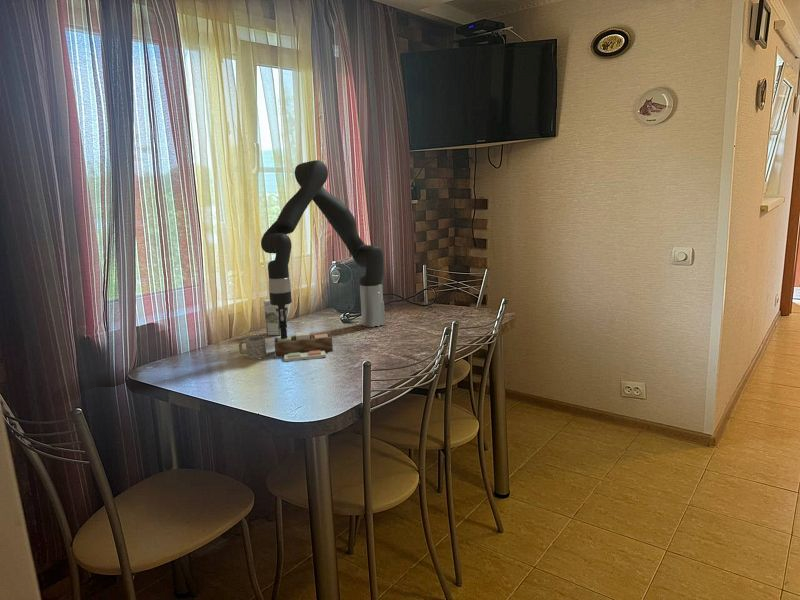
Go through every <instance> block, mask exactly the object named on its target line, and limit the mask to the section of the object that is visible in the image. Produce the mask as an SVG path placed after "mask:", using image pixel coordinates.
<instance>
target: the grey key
mask: <svg viewBox="0 0 800 600" xmlns="http://www.w3.org/2000/svg"><path fill="white" fill-rule="evenodd" d="M310 334H311V333H310V331H308V330H307V331H298V332H295V336H296V340H305V339H310Z"/></svg>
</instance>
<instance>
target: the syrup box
mask: <svg viewBox="0 0 800 600" xmlns="http://www.w3.org/2000/svg"><path fill="white" fill-rule="evenodd" d="M263 307H264V318H265V320H264V321H265V327H266V335H267V336H272V337H273V336H274V337H275V336H281V334H280V328H279V323H278V320H277V315H276V309H277V308H278V306H277V305H271V304H270V297H268V298H267V297H266V299H264V300H263Z"/></svg>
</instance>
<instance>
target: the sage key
mask: <svg viewBox="0 0 800 600" xmlns="http://www.w3.org/2000/svg"><path fill="white" fill-rule="evenodd" d="M291 336H292V335H287V338H286V339H281V336H276V337H277V338H278V342H285V341H292V340H291Z"/></svg>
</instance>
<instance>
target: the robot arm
mask: <svg viewBox="0 0 800 600" xmlns="http://www.w3.org/2000/svg"><path fill="white" fill-rule="evenodd" d="M294 177H295V180H296V182H297V184H298V185H299V187H300V188H299V189H298V190H297V192H295V194H294V195H293V196H292V197H291V198H290V199H289V200H288V201H287V202H286V203H285V204H284V206H283V207H282V209H281V211H280V213H279V215H278V217H277V219H276V220H275V221H274V222H273V223H272V224H271V225H270V226H269V228H268V229H266V231H265V232H264V233H263V235H262V237H261V240H260V246H261V249H262V250H263V252H265V253H267V254H275V257H274V260H271V261H269V262H268V263H267V272H268V273H267V274H268V293H269V298H270V304H271V305H277V306H278V308H277V309H276V315H277V320H278V323H279V328H280V334H281V335H280V337H281V339H286V338H287V336H288V330H287V328H288V324H287V323H288V307H286V305H290V304H291V303H292V302H293V299H292V289H291V288H292V286H291V280H290V271H289V270H290V269H289V265H290V264H289V263H290V258H291V252H292V240H291V238H290V237H289V235H290V234H292V233H294V231H295V230H296V228H297V226H298V225H299V222H300V220H301V218H302V217H303V214H304V213H305V211H306V210H307V208H308V206H309V205H310V203H311V202H312V201H313V202H314V204H315V205H316V206H317V207H318V209H319V210H320V212H321V213H322V214H323V215H324V217H325V219H326V220H327V222H328V223H329V224H330V225H331V227H332V228H333V230H334V231H335V232H336V234H337V235H338V236H339V238H340V239H341V241H342V242H343V243H344V245H345V246H346V248H347V250H348V252H349V254H350V255H351V257H352V259H353V260H354V262H355V263H356V264H357V266H359V267H361V268H365V274H364V275H363V276H361V277H360V278H359V293H360V294H359V295H360V296H359V297H360V308H361V309H360V310H361V312H360V313H361V325H363V327H365V326H366V327H365V328H376V327H375V326H378V327H381V326H380V325H382V326H385V325H386V314H385V313H386V312H385V310H386V309H385V302H384V295H383V294H384V292H383V278H384V265H385V263H384V260H385V259H384V252H383V251H382V249H381V248H380V247H379V246H377V245H370V244H369V245H368V244H366V243H365V242H364V241H363V240H362V238H361V237H360V236H359V234H358V232H357V223H356V219H355V216H354V215H353V213H352V212H351V210H350V208H349V207H348V205H346V203H344V202H343V201H342V200H340V199H339V198H338V197H336V196H335V195H333V194H332V193H330V192H329V191H327V190H326V189H325V188H324V185H325V183H326V182H327V180H328V177H329V170H328V167H327V165H326V164H325V163H324V161H322V160H318V159H316V160H311V161H306V162H301V163H299V164H297V165H296V166H295V168H294Z"/></svg>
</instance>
